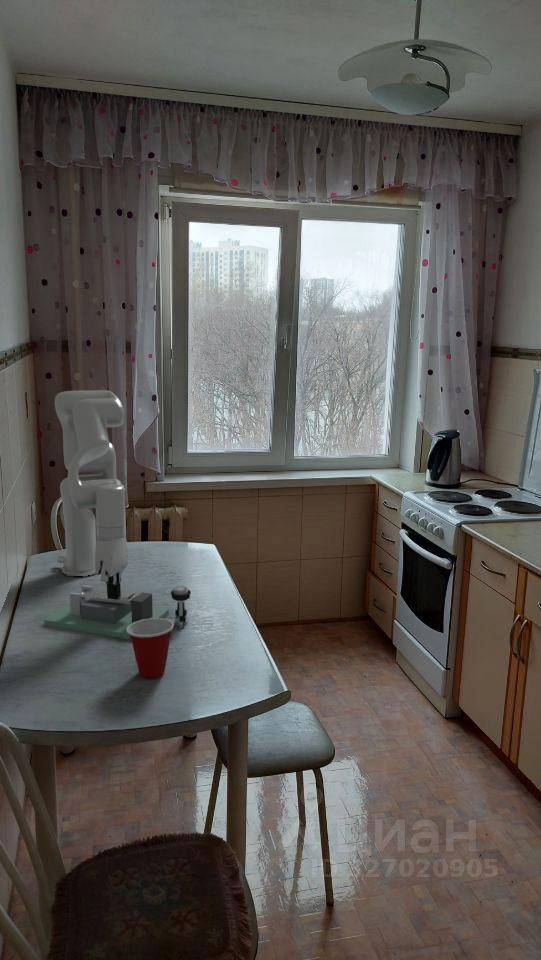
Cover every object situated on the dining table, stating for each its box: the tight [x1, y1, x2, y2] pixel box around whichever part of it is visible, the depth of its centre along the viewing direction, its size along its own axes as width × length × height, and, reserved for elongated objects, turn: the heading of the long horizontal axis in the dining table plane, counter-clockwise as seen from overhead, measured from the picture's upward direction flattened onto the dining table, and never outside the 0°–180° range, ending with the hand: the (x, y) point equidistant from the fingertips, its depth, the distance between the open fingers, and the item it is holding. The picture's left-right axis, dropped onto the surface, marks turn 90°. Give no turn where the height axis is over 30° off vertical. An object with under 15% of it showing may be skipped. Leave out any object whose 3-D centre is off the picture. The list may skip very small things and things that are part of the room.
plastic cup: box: [126, 618, 175, 680], centre depth 162 cm, size 11×11×12 cm
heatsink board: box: [43, 584, 170, 641], centre depth 191 cm, size 28×18×8 cm, turn 72°
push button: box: [170, 585, 191, 629], centre depth 189 cm, size 7×5×10 cm
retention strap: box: [80, 590, 138, 604], centre depth 191 cm, size 17×4×2 cm, turn 72°
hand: (114, 596), depth 190 cm, fingers closed
